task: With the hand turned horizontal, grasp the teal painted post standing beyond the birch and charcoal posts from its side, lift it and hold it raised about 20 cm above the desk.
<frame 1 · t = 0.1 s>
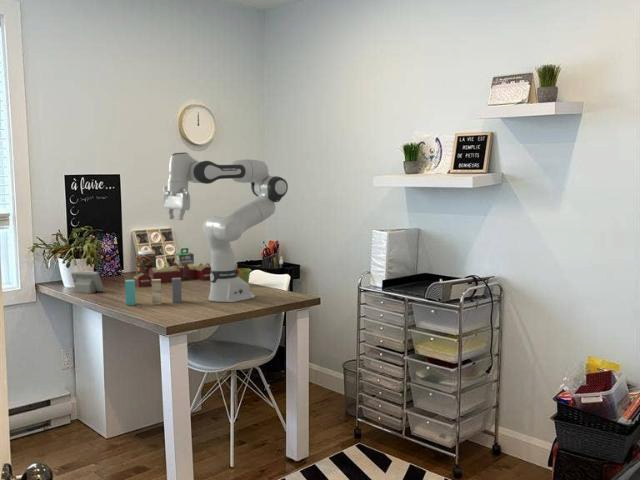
hand: (175, 219, 275), 39 cm above the table, tool pointing down, fingers open, 8 cm apart
jar: (146, 277, 358), on the table
chalk box: (184, 272, 375), on the table
plant pot: (242, 286, 328), on the table
charcoal post: (177, 301, 288), on the table
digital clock: (87, 292, 314), on the table
birch post: (156, 303, 284), on the table
toy houses: (172, 282, 344), on the table
teal post: (130, 304, 283), on the table
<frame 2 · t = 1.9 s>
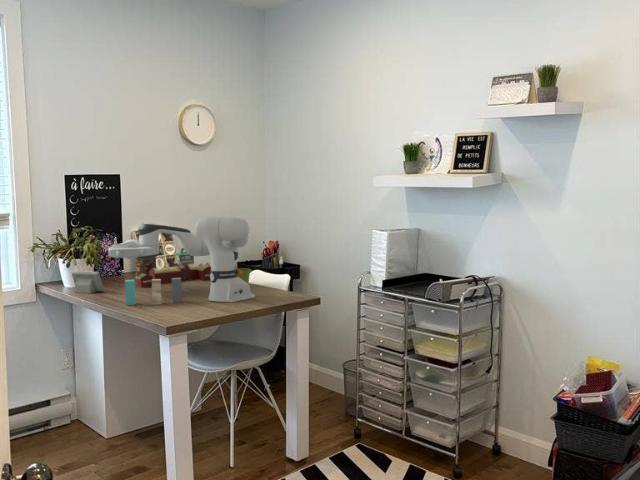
hand: (130, 253, 292), 22 cm above the table, tool horizontal, fingers open, 8 cm apart
toy houses: (173, 282, 342), on the table
everything else where it was.
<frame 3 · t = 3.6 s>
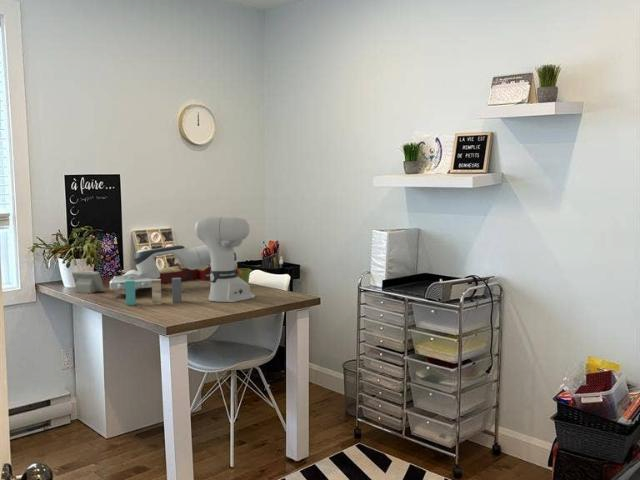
hand: (131, 286, 293), 6 cm above the table, tool horizontal, fingers open, 8 cm apart
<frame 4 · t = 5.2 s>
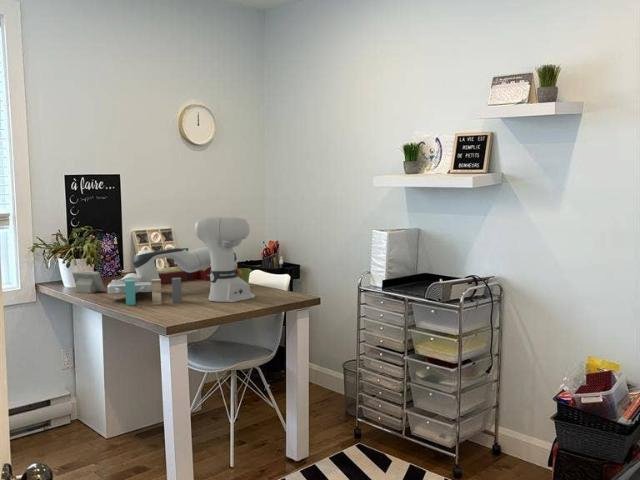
hand: (129, 290, 284), 6 cm above the table, tool horizontal, fingers open, 8 cm apart
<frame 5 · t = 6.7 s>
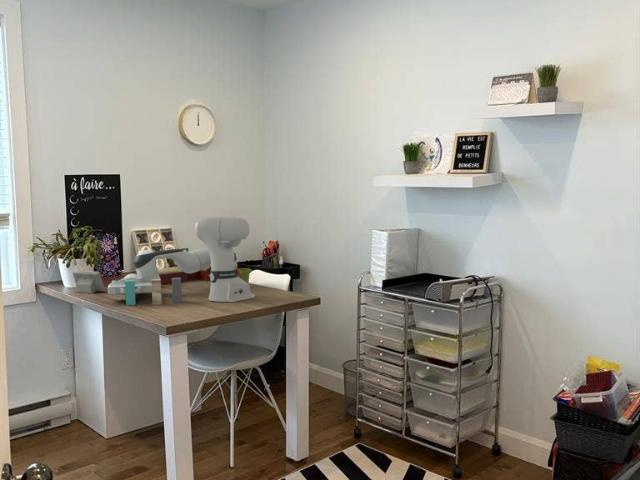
hand: (130, 291, 281), 6 cm above the table, tool horizontal, fingers closed on teal post, 4 cm apart
teal post: (130, 304, 283), on the table, touching gripper
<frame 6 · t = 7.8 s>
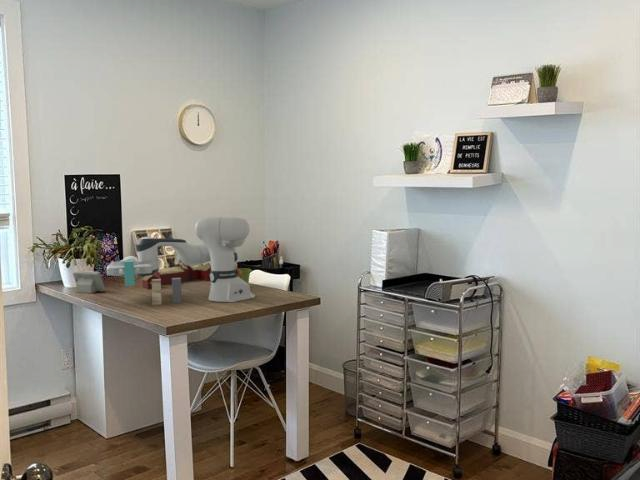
hand: (129, 272, 280), 15 cm above the table, tool horizontal, fingers closed on teal post, 4 cm apart
teal post: (129, 285, 281), point 9 cm above the table, touching gripper
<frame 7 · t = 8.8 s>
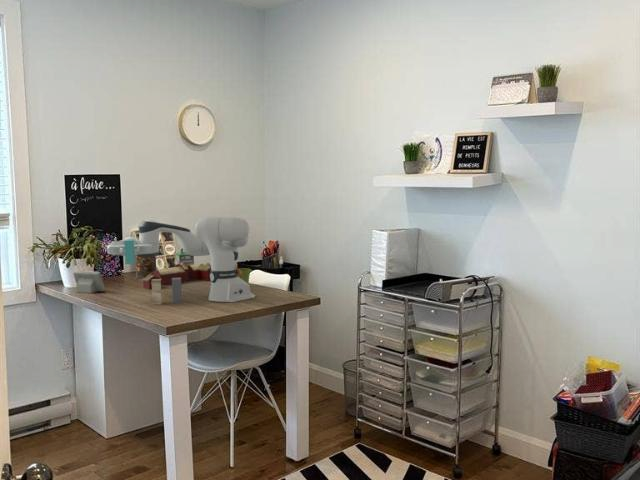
hand: (129, 250, 285), 24 cm above the table, tool horizontal, fingers closed on teal post, 4 cm apart
teal post: (130, 263, 287), point 18 cm above the table, touching gripper
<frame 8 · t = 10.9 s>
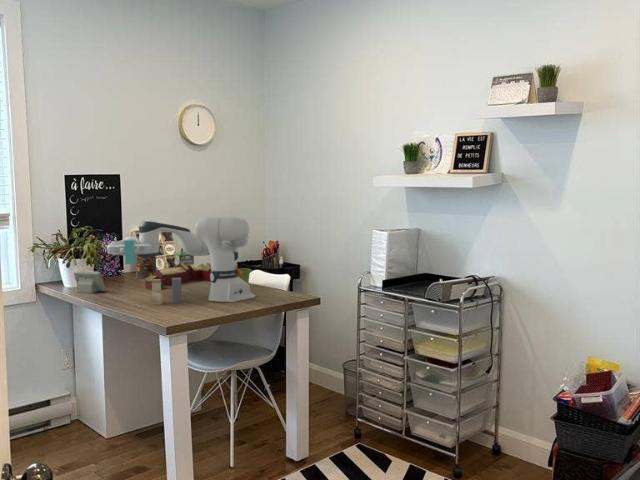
hand: (129, 250, 285), 24 cm above the table, tool horizontal, fingers closed on teal post, 4 cm apart
toy houses: (179, 283, 339), on the table
teal post: (130, 263, 287), point 18 cm above the table, touching gripper
at the end: the gripper is holding teal post; teal post point 17.9 cm above the table; birch post moved 0.0 cm from its start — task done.
